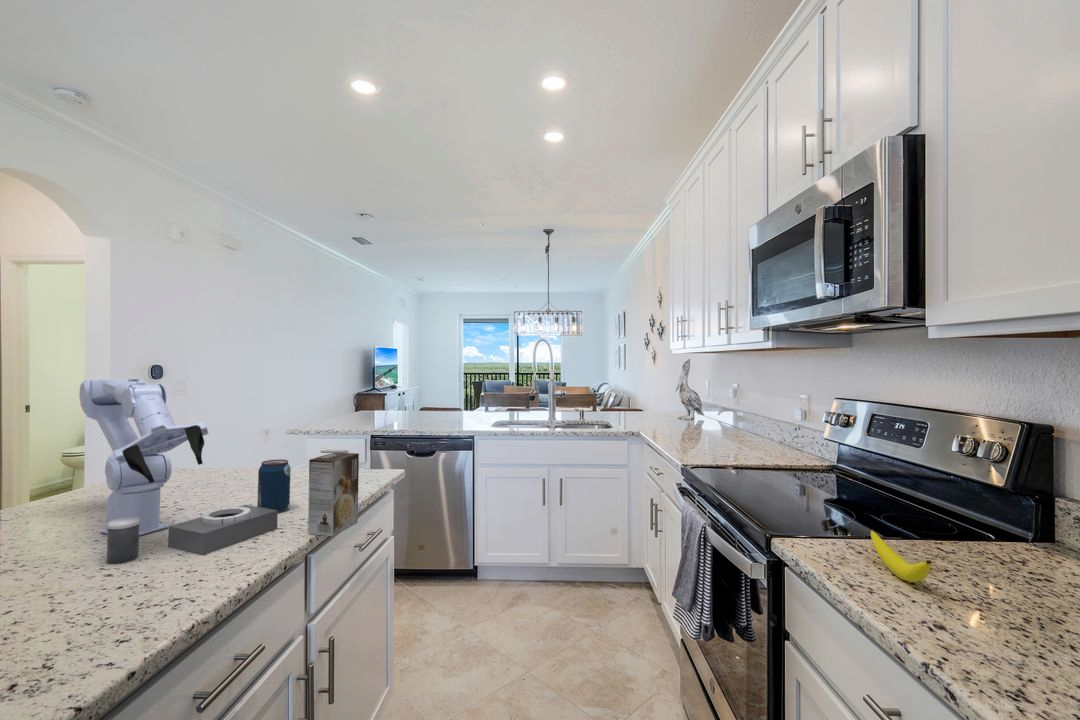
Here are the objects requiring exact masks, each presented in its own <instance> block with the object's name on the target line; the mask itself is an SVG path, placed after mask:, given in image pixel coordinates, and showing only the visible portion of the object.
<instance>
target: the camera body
mask: <svg viewBox="0 0 1080 720" xmlns="http://www.w3.org/2000/svg"><path fill="white" fill-rule="evenodd" d="M278 514H279V513H278V510H273V509H267V508H262V507H257V505H249V504H244V505H243V504H242V505H240V506H230V507H228V506H227V507H223V508H218V509H217V508H216V509H213V510H209V511H206V512H204V513H203V514H201V515H200V516H201V517H200V516H199V517H197V518H193V519H190V520H186V521H183V522H179V523H175V524H172V525H169V527H168V537H167V538H168V540H167V541H168V542H167V547H168V548H171V549H176V550H180V551H184V552H188V553H192V554H197V555H202V556H203V555H206V554H207V555H208V554H209V553H212V552H215V551H218V550H221V549H223V548H227V547H229V546H232V545H234V544H235V545H236V544H238V543H240V542H244V541H246V540H249V539H252V538H254V537H257V536H260V535H264V534H266V533H269V532H271V531H274V530H277V529H278V517H279V516H278Z"/></svg>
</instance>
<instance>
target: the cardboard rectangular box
mask: <svg viewBox="0 0 1080 720" xmlns="http://www.w3.org/2000/svg"><path fill="white" fill-rule="evenodd" d="M359 456H360V453H355V452H354V453H353V452H352V453H351V452H333V453H329V454H324V455H321V456H318V457H314V458H311V459H309V460H308V461H309V462H308V463H309V464H308V466H309V468H308V471H309V473H308V519H307V520H308V521H307V524H308V525H307V534H308V535H315V536H326V537H335V536H337V535H339V534H340V533H342V532H344V531H345V530H348V529H349V528H351V527H352V526H355V525H357V524H358V523H359V522H358V519H359V517H358V516H359V472H360V471H359V469H360V467H359V466H360V465H359V462H360V459H359Z"/></svg>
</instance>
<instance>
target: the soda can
mask: <svg viewBox="0 0 1080 720" xmlns="http://www.w3.org/2000/svg"><path fill="white" fill-rule="evenodd" d="M257 477H258V478H257V503H256V504H257V505H256V507H262V508H267V509H273V510H278V514H279V513H283V512H285V511H286V510H287V509H288V508H289V507H290V504H291V503H290V502H291V501H290V500H291V499H290V498H291V465H290V464H289V460H288V459H269V460H265V461H261V465H260V467H259V468H258V475H257Z"/></svg>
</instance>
